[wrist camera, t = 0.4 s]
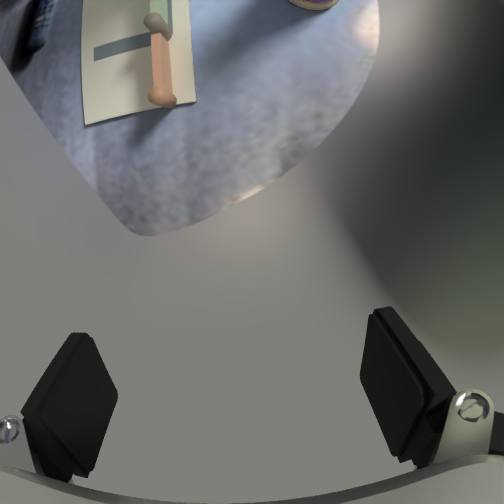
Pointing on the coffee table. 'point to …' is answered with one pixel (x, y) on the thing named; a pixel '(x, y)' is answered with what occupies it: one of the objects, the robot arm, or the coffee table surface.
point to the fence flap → (160, 62)
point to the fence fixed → (160, 9)
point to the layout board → (130, 57)
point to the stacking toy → (314, 4)
